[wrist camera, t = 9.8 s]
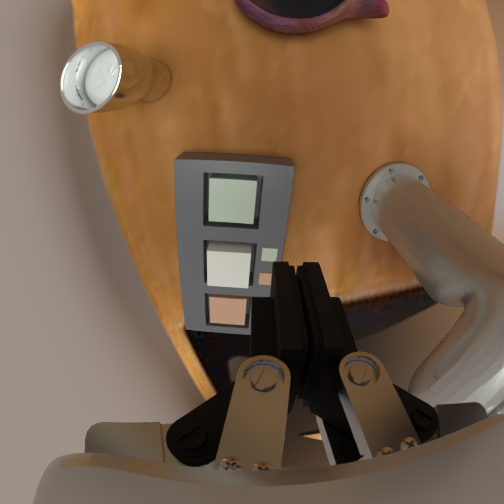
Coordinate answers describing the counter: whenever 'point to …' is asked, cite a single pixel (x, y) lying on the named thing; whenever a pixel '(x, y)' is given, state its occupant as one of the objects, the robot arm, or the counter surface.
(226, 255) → the white key
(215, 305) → the terracotta key
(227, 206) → the sage key
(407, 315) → the counter surface
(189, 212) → the keyguard board
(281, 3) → the bowl
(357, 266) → the counter surface
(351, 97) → the counter surface
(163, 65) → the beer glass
